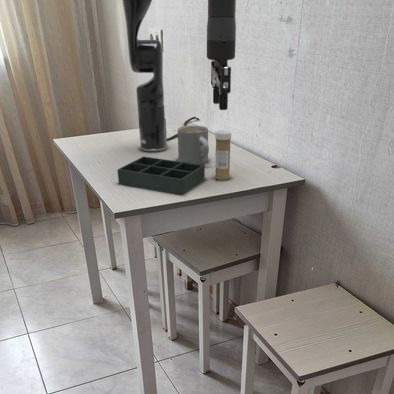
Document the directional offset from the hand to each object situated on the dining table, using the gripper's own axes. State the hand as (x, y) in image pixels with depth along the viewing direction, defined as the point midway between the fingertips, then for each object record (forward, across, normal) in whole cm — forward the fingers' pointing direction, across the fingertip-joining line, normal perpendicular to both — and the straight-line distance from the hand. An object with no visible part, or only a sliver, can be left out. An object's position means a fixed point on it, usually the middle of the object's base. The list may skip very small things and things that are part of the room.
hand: (220, 106), depth 134 cm
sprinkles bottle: (+20, -1, +1) cm, 20 cm away
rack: (+20, -1, -17) cm, 27 cm away
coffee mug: (+20, -19, -4) cm, 28 cm away
